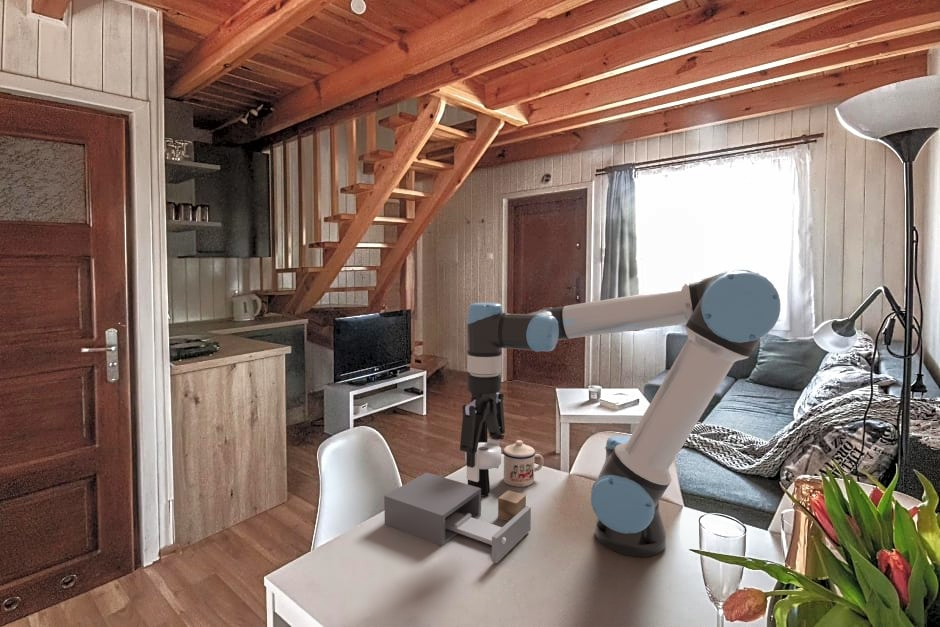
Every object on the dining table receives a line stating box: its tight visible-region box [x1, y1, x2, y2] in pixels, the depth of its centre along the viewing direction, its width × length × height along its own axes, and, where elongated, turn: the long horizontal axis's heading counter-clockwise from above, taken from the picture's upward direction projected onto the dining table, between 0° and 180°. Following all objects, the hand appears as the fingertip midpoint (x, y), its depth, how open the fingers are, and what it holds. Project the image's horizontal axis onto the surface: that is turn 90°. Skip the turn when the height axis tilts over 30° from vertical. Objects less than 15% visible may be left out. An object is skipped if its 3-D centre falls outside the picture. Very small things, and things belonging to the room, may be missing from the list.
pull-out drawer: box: [445, 505, 532, 564], centre depth 114 cm, size 18×16×5 cm
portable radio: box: [467, 415, 491, 497], centre depth 135 cm, size 8×6×25 cm
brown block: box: [497, 490, 527, 522], centre depth 123 cm, size 5×5×5 cm
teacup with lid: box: [502, 440, 545, 488], centre depth 143 cm, size 12×9×12 cm
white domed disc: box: [464, 443, 502, 470], centre depth 112 cm, size 8×8×3 cm
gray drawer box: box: [383, 472, 482, 547], centre depth 121 cm, size 17×16×7 cm
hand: (483, 472), depth 112 cm, fingers closed on white domed disc, 8 cm apart
